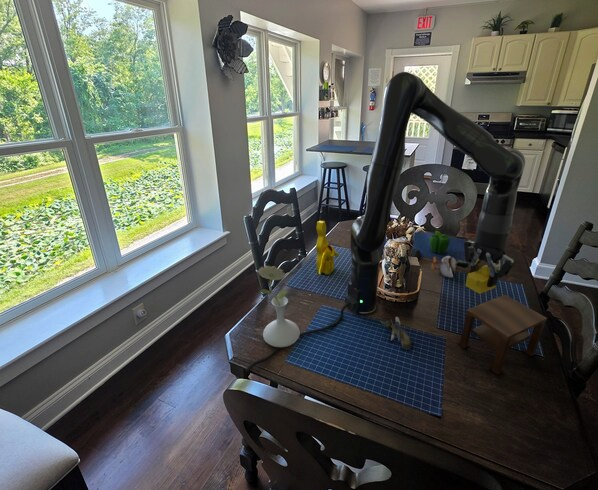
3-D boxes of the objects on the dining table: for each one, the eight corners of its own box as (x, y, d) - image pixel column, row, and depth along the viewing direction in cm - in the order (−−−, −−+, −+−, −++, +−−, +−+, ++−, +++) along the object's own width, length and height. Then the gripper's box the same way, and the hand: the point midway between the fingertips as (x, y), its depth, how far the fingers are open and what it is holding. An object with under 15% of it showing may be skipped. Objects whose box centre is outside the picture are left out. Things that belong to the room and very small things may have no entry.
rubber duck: (477, 295, 88) (482, 275, 86) (463, 286, 92) (466, 267, 90) (498, 286, 91) (502, 267, 89) (483, 278, 95) (487, 259, 93)
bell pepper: (449, 249, 150) (452, 230, 147) (446, 257, 144) (449, 237, 140) (430, 245, 155) (433, 226, 151) (426, 252, 148) (429, 233, 144)
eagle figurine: (375, 333, 99) (396, 347, 91) (384, 311, 100) (405, 324, 92) (391, 337, 103) (413, 352, 95) (400, 317, 103) (422, 329, 95)
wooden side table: (496, 374, 86) (508, 336, 80) (459, 344, 96) (467, 309, 91) (534, 354, 92) (547, 318, 87) (495, 328, 102) (504, 294, 97)
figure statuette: (323, 282, 127) (324, 232, 119) (306, 277, 131) (306, 228, 123) (342, 263, 141) (344, 217, 133) (326, 258, 145) (327, 213, 136)
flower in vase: (306, 332, 102) (305, 264, 92) (287, 356, 93) (283, 283, 83) (272, 319, 108) (268, 253, 98) (251, 340, 99) (244, 271, 89)
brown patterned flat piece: (381, 241, 160) (381, 232, 158) (424, 255, 146) (425, 246, 144) (364, 252, 150) (364, 243, 148) (408, 268, 136) (410, 259, 134)
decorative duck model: (466, 252, 134) (485, 270, 120) (461, 268, 137) (479, 287, 123) (431, 250, 134) (445, 267, 120) (427, 265, 137) (441, 284, 123)
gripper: (460, 220, 89) (451, 273, 96) (511, 240, 77) (497, 299, 84) (478, 215, 92) (469, 267, 99) (530, 233, 80) (515, 290, 87)
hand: (482, 281), depth 91 cm, fingers closed on rubber duck, 4 cm apart
